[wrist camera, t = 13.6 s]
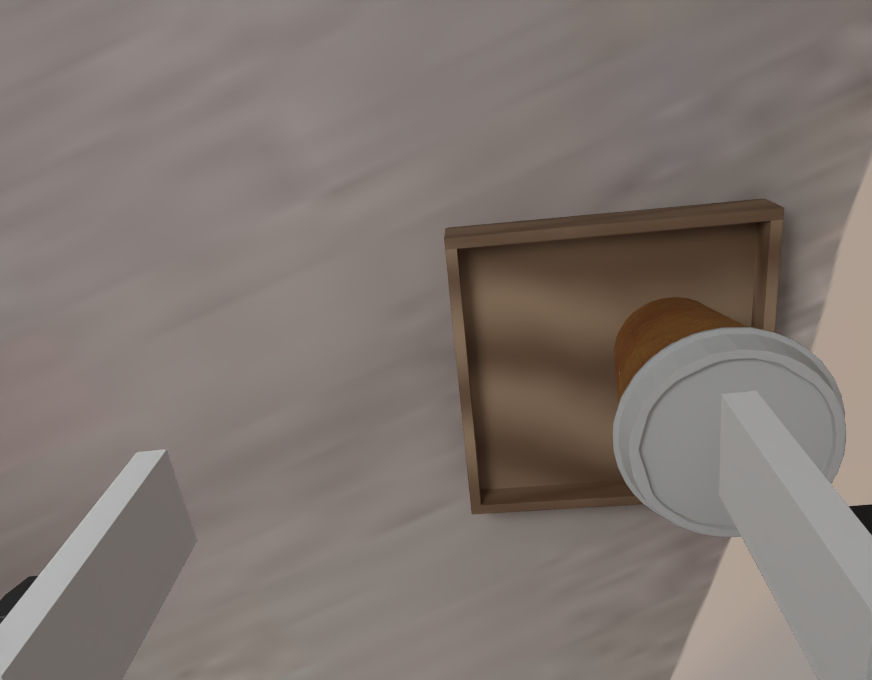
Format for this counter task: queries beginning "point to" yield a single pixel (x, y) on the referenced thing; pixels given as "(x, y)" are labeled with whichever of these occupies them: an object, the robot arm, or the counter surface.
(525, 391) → the box
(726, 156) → the counter surface
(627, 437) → the disposable coffee cup
